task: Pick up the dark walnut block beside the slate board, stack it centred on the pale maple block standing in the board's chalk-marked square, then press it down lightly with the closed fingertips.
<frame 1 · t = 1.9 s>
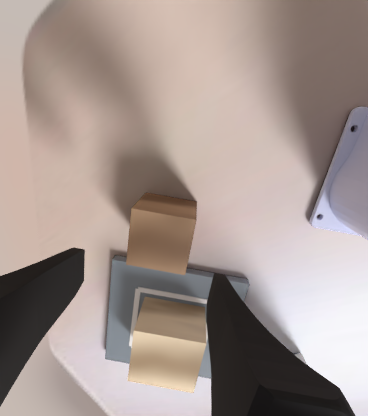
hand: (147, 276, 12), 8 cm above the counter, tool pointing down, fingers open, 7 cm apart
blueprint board: (171, 319, 23), on the counter
walnut block: (167, 220, 20), on the counter
maple block: (170, 325, 23), point 1 cm above the counter, touching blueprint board
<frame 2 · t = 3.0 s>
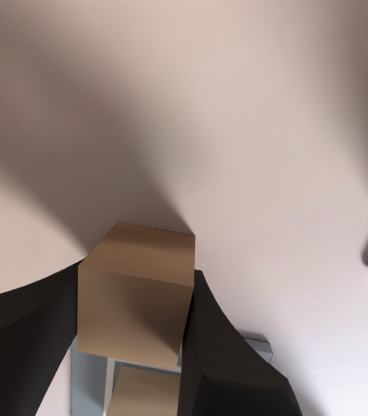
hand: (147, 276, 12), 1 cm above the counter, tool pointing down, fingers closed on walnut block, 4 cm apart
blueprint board: (161, 390, 17), on the counter
walnut block: (152, 262, 13), on the counter, touching gripper
maple block: (159, 402, 16), point 1 cm above the counter, touching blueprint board
when the fingers open (7 cm above the counter, at t = 6.0 s): walnut block stays where it is, resting on maple block.
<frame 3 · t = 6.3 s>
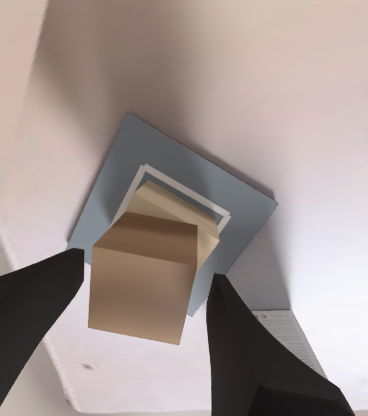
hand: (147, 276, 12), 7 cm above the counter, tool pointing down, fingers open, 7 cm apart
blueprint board: (165, 225, 19), on the counter
small box: (256, 339, 22), on the counter
walnut block: (156, 250, 14), point 5 cm above the counter, touching maple block
maple block: (164, 229, 18), point 1 cm above the counter, touching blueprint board, walnut block
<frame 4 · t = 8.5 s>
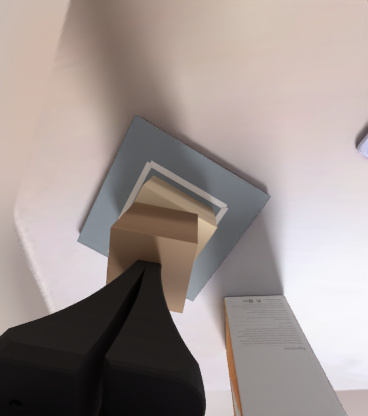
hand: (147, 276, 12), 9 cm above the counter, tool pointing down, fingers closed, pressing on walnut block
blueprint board: (168, 217, 21), on the counter
small box: (252, 323, 24), on the counter
walnut block: (161, 236, 16), point 5 cm above the counter, touching gripper, maple block
maple block: (167, 220, 20), point 1 cm above the counter, touching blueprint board, walnut block
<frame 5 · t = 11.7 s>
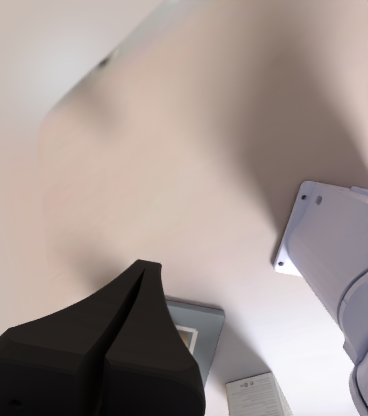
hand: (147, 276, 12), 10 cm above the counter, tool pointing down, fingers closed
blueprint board: (160, 342, 27), on the counter
small box: (258, 395, 29), on the counter
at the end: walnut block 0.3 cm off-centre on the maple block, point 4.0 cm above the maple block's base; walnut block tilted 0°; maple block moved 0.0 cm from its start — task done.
